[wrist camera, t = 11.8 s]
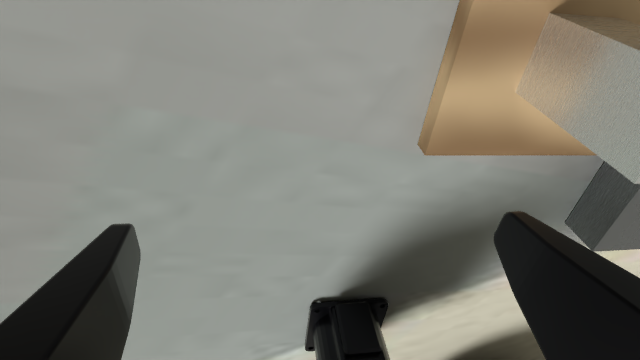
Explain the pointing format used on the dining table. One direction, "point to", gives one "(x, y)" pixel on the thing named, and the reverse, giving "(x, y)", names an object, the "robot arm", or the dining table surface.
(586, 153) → the oak pad
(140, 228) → the dining table surface
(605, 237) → the rail
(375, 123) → the dining table surface
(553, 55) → the brushed metal block
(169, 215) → the dining table surface
